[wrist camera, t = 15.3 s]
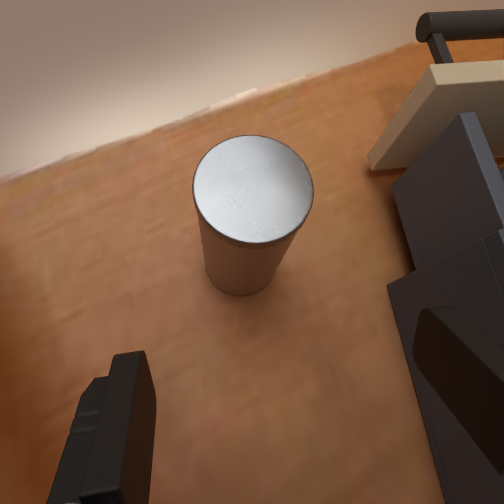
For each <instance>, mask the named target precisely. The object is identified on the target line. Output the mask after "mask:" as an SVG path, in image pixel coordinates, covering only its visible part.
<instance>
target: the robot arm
mask: <svg viewBox="0 0 504 504" xmlns="http://www.w3.org/2000/svg"><path fill="white" fill-rule="evenodd" d="M412 354H413V359H414V362H415V364H416V366H417V368H418V369H419V371H420V372H421V373H422V375H423V376H424V377H425V379H426V380H427V381H428V382H429V384H430V385H431V386H432V388H433V389H434V390H435V392H436V393H437V394H438V395H439V397H440V398H441V399H442V401H443V402H444V403H445V404H446V406H447V407H448V408H449V410H450V411H451V412H452V414H453V415H454V416H455V417H456V419H457V420H458V421H459V423H460V424H461V425H462V426H463V428H464V429H465V430H466V432H467V433H468V434H469V436H470V437H471V438H472V439H473V441H474V442H475V443H476V445H477V446H478V447H479V448H480V450H481V451H482V452H483V454H484V455H485V456H486V458H487V459H488V460H489V461H490V463H491V464H492V465H493V467H494V468H495V469H496V470H497V472H498V473H499V474H500V476H503V475H504V341H503V340H502V339H500V338H499V337H498V336H497V335H496V334H495V333H493V332H492V331H491V330H490V329H488V328H486V327H484V326H482V325H480V324H478V323H476V322H474V321H472V320H467V319H466V318H465V317H464V316H463V315H462V314H461V313H460V312H458V311H457V310H456V309H455V308H454V307H452V306H450V305H444V306H437V307H431V308H424V309H422V310H421V311H420V313H419V317H418V322H417V327H416V332H415V337H414V342H413V346H412ZM155 423H156V394H155V389H154V385H153V381H152V377H151V373H150V369H149V365H148V361H147V357H146V354H145V352H144V351H143V350H142V351H136V352H129V353H122V354H116V355H114V357H113V360H112V364H111V368H110V371H109V375H108V376H105V377H99V378H94V380H93V381H92V382H91V384H90V385H89V386H88V387H87V389H86V390H85V391H84V393H83V394H82V395H81V397H80V401H79V404H78V407H77V410H76V413H75V419H73V422H72V425H71V429H70V435H69V436H68V438H67V441H66V444H65V447H64V450H63V453H62V457H61V460H60V463H59V466H58V469H57V472H56V475H55V478H54V481H53V484H52V488H51V491H50V494H49V497H48V500H47V503H46V504H149V492H150V481H151V469H152V458H153V446H154V435H155Z"/></svg>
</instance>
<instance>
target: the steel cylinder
mask: <svg viewBox="0 0 504 504" xmlns="http://www.w3.org/2000/svg"><path fill="white" fill-rule="evenodd" d="M192 191H193V199H194V204H195V208H196V211H197V215H198V221H199V227H200V233H201V240H202V246H203V252H204V258H205V264H206V270H207V273H208V275H209V277H210V279H211V281H212V282H213V283H214V284H215V286H217V287H218V288H219V289H220V290H222V291H224V292H226V293H228V294H231V295H236V296H246V295H251V294H254V293H256V292H258V291H260V290H261V289H263V288H264V287H265V286H266V285H267V284H268V283H269V281H270V280H271V278H272V276H273V274H274V273H275V271H276V269H277V267H278V265H279V264H280V262H281V260H282V258H283V256H284V255H285V253H286V251H287V249H288V247H289V246H290V244H291V242H292V240H293V238H294V237H295V235H296V233H297V231H298V230H299V229H300V228H301V226H302V225H303V223H304V222H305V220H306V218H307V216H308V214H309V212H310V210H311V207H312V203H313V196H314V188H313V182H312V178H311V175H310V172H309V170H308V168H307V166H306V165H305V163H304V161H303V160H302V159H301V158H300V156H299V155H298V154H297V153H296V152H295V151H293V150H292V149H291V148H289V147H288V146H287V145H285V144H283V143H281V142H279V141H277V140H275V139H272V138H269V137H264V136H259V135H243V136H237V137H233V138H229V139H227V140H224V141H222V142H220V143H219V144H217V145H215V146H214V147H213V148H211V149H210V150H209V151H208V152H207V153H206V154H205V155H204V157H203V158H202V159H201V161H200V162H199V164H198V166H197V168H196V170H195V173H194V177H193V184H192Z"/></svg>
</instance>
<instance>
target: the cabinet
mask: <svg viewBox="0 0 504 504" xmlns="http://www.w3.org/2000/svg"><path fill="white" fill-rule="evenodd" d="M387 288H388V291H389V295H390V299H391V302H392V306H393V310H394V313H395V317H396V321H397V324H398V328H399V332H400V335H401V339H402V343H403V346H404V350H405V354H406V357H407V361H408V365H409V368H410V372H411V376H412V379H413V383H414V387H415V390H416V394H417V398H418V401H419V405H420V409H421V412H422V416H423V420H424V423H425V427H426V431H427V434H428V438H429V442H430V446H431V449H432V453H433V457H434V460H435V464H436V468H437V471H438V475H439V479H440V482H441V486H442V490H443V493H444V497H445V501H446V504H504V475H503V476H500V474H499V473H498V472H497V470H496V469H495V468H494V467H493V465H492V464H491V463H490V461H489V460H488V459H487V458H486V456H485V455H484V454H483V452H482V451H481V450H480V448H479V447H478V446H477V445H476V443H475V442H474V441H473V439H472V438H471V437H470V436H469V434H468V433H467V432H466V430H465V429H464V428H463V426H462V425H461V424H460V423H459V421H458V420H457V419H456V417H455V416H454V415H453V414H452V412H451V411H450V410H449V408H448V407H447V406H446V404H445V403H444V402H443V401H442V399H441V398H440V397H439V395H438V394H437V393H436V392H435V390H434V389H433V388H432V386H431V385H430V384H429V382H428V381H427V380H426V379H425V377H424V376H423V375H422V373H421V372H420V371H419V369H418V368H417V366H416V364H415V362H414V359H413V354H412V346H413V342H414V337H415V332H416V327H417V322H418V317H419V313H420V311H421V310H422V309H424V308H431V307H437V306H444V305H450V306H452V307H454V308H455V309H456V310H457V311H458V312H460V313H461V314H462V315H463V316H464V317H465V318H466V319H467V320H472V321H474V322H476V323H478V324H480V325H482V326H484V327H486V328H488V329H490V330H491V331H492V332H493V333H495V334H496V335H497V336H498V337H499V338H500V339H502V340H503V341H504V229H499V230H497V231H495V232H493V233H491V234H489V235H487V236H485V237H483V238H480V239H478V240H476V241H474V242H472V243H470V244H468V245H466V246H464V247H462V248H460V249H458V250H456V251H454V252H452V253H450V254H448V255H446V256H444V257H442V258H440V259H438V260H436V261H434V262H432V263H430V264H428V265H426V266H424V267H422V268H420V269H418V270H416V271H414V272H412V273H410V274H408V275H406V276H404V277H402V278H400V279H398V280H396V281H394V282H392V283H390V284H388V285H387Z"/></svg>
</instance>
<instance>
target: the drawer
mask: <svg viewBox="0 0 504 504" xmlns="http://www.w3.org/2000/svg"><path fill="white" fill-rule="evenodd" d="M496 38H504V9H496V10H473V11H451V12H428V13H424V14H423V15H422V16H421V17H420V18H419V20H418V22H417V26H416V39H417V41H419V42H421V43H423V42H427V43H428V46H429V49H430V51H431V54H432V56H433V59H434V62H435V64H431V65H429V66H428V68H427V69H426V71H425V72H424V74H423V75H422V77H421V78H420V79H419V81H418V82H417V84H416V85H415V87H414V88H413V90H412V91H411V93H410V94H409V95H408V97H407V98H406V100H405V101H404V103H403V104H402V106H401V107H400V109H399V110H398V111H397V113H396V114H395V116H394V117H393V119H392V120H391V122H390V123H389V125H388V126H387V127H386V129H385V130H384V132H383V133H382V135H381V136H380V138H379V139H378V141H377V142H376V143H375V145H374V146H373V148H372V149H371V151H370V152H369V154H368V159H369V163H370V166H371V170H372V171H373V170H383V169H393V168H403V167H409V168H408V169H407V170H406V171H405V172H404V173H403V174H402V175H401V176H400V178H399V179H398V180H397V181H396V182H395V183H394V184H393V185H392V186H391V188H392V192H393V195H394V198H395V202H396V205H397V208H398V211H399V215H400V218H401V221H402V225H403V228H404V231H405V235H406V238H407V241H408V245H409V248H410V251H411V255H412V258H413V261H414V265H415V268H416V270H418V269H420V268H422V267H424V266H426V265H428V264H430V263H432V262H434V261H436V260H438V259H440V258H442V257H444V256H446V255H448V254H450V253H452V252H454V251H456V250H458V249H460V248H462V247H464V246H466V245H468V244H470V243H472V242H474V241H476V240H478V239H480V238H483V237H485V236H487V235H489V234H491V233H493V232H495V231H497V230H499V229H504V169H500V170H498V167H497V165H496V162H495V160H494V158H502V157H504V60H494V61H478V62H462V63H454V62H453V60H452V57H451V55H450V52H449V50H448V47H447V45H446V42H445V41H459V40H478V39H496Z"/></svg>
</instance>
